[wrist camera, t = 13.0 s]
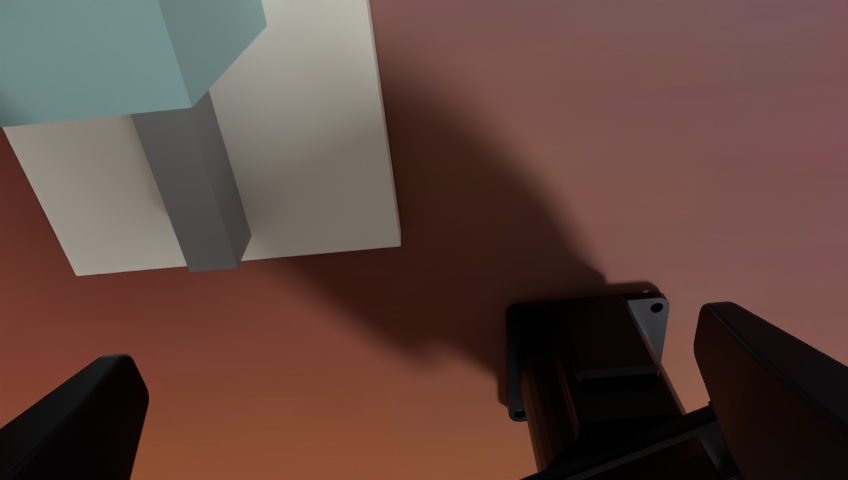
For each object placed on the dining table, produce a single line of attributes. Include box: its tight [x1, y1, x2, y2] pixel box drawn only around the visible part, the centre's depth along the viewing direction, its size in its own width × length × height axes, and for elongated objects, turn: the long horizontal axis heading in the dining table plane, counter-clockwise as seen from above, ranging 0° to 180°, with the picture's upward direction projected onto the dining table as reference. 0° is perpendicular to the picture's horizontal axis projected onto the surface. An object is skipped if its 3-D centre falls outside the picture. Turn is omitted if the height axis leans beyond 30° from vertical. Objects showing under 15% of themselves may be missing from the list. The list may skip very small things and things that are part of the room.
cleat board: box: [2, 0, 401, 276], centre depth 16 cm, size 18×12×4 cm, turn 6°
